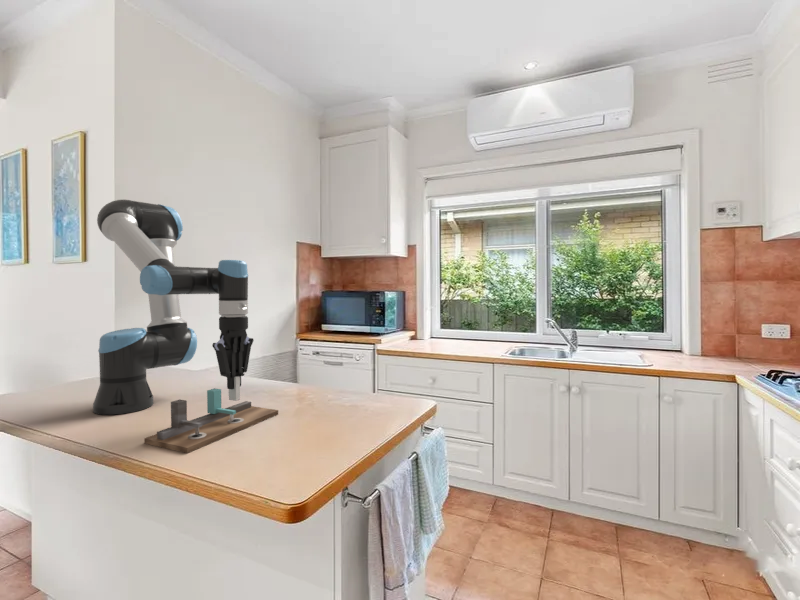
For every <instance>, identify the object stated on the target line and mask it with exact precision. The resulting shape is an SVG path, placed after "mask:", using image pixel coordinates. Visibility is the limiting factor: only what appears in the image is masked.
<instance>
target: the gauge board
mask: <svg viewBox="0 0 800 600" xmlns="http://www.w3.org/2000/svg"><path fill="white" fill-rule="evenodd" d="M187 403H188V401H187V399H186V400H184V399H176V400H173V401H170V426H169V427H167V428H164V429H162V430H159V431H156V434H152V435H150V436H147V437H143V438H144V439H143V443H144V444H146V445H151V446H154V447H158V448H159V447H160V448H163V449H167V450H171V451H177V452H181V453H184V454H190V453H192V452H193V451H197V450H199V449H201V448H203V447H205V446H208V445H210V444H212V443H215V442H218V441H220V440H222V439H224V438H226V437H228V436H231V435H234V434H236V433H238V432H240V431H243V430H245V429H248V428H250V427H253V426H255V425H257V424H259V423H261V422H265V421H266V420H269V419H271V418H273V417H275V416H278V415H279V410H278V409H273V408H266V407H260V406H255V405H254V406H252V402H251V401H248V400H245V401H243V402H240V403H237V404H234V405H233V404H232V405H231V406H228V407H225V408H224V409H229V410H236V414H234V415H233V421H230V414H226V413H220V412H219V413H216V414H210V413H207V414H205V415H202V416H198V417H196V418H194V419H190V420H188V410H187V409H188V406H187Z"/></svg>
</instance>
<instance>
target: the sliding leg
mask: <svg viewBox="0 0 800 600" xmlns="http://www.w3.org/2000/svg"><path fill="white" fill-rule="evenodd" d="M206 397H207V399H206V400H207V402H206V404H207V407H206V410H207V414H216V413H219V412H220V413H226V414H230V421H233V415H234V414H236V410H229V409H225V408H224V407H223V408H222V389H221V388H216V387H215V388H211V389H208V390H206Z"/></svg>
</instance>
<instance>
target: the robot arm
mask: <svg viewBox="0 0 800 600" xmlns="http://www.w3.org/2000/svg"><path fill="white" fill-rule="evenodd" d="M96 222H97V226H98V229H99V231H100V232H101V233H102V235H103V236H104V237H105V238H106V239H107V240H109V241H112V242H114V243H115V244H116V245H117V246H118V247H119V249H120V250H121V251H122V252H123V253H124V255H126V256H127V258H128V259H129V260H130V262H132V263H133V265H135V267H136V268H137V269H138V271H139V272H140V274H139V284H140V285H141V286H140V287H141V289H142V291H143V292H144V293H145V294H147V295H148V303H149V310H150V311H149V312H150V319H151V320H150V323H149V324H148V325H147V326H146V329H145V328H144V327H131V328H124V329H118V330H113V331H109V332H106V333H105V334H103V335H101V337H100V338H99V346H98V347H99V348H98V351H97V352H98V354H99V355H98V357H99V359H98V360H99V361H98V362H99V387H98V390H97V393H96V395H95V398H94V400H93V403H92V411H93V413H94V414H97V415H102V416H103V415H104V416H105V415H106V416H107V415H109V416H110V415H121V414H130V413H134V412H139V411H142V410H145V409H147V408H149V407H152V406H153V405H154V395H153V393H152V390H151V387H150V385H149V383H148V380H147V370H150V369H157V368H163V367H169V366H170V367H172V366H178V365H182V364H186V363H188V362H190V361H192V359H193V358H194V356H195V354H196V351H197V349H198V338H197V334H196V333H195V330H194V329H192V328H190V327H188V322H187V321H186V320H184V319H183V318H182V314H181V313H182V312H181V306H180V299H179V298H180V297H179V295H218V314H219V315H220V316H219V318H218V329H219V330H220V335H219V340H218V341H216V342H213V343H212V346H211V347H212V348H213V350H214V351H215V355H216V356H215V357H216V359H217V365H218V367H219V368H218V370H219V374H220V376H221V377H225V378H226V383H227V384H226V388H227V389H228V400H229V401H235V402H236V401H240V400H241V387H242V377H245V373H247V371H248V367H249V362H250V361H249V360H250V354H251V349H252V345H253V343H254V338H252V337H249V336H248V334H247V330H248V329H249V317H248V313H249V308H248V307H249V305H248V304H249V303H248V302H249V301H248V300H249V299H248V297H249V295H248V294H249V290H248V289H249V287H248V286H249V273H248V263H247V262H246V260H241V259H240V260H239V259H221V260H219V262H218V266H217V267H194V266H193V267H192V266H178V265H177V266H176V265H175V258H174V257H175V256H174V251H173V250H174V247H176V246H177V244H178V242H177V241H179V240H180V239H181V237H182V235H183V231H184V229H183V220H182V218H181V216H180V214H179V212H178V211H177V210H175V208H173V207H171V206H167V205H164V204H159V203H158V204H156V203H149V202H143V201H135V200H130V199H117V200H113V201H110V202H108V203H107V204H105V205H104V206H103V207H102V208H100V210H99V212H98V213H97V219H96Z"/></svg>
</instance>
